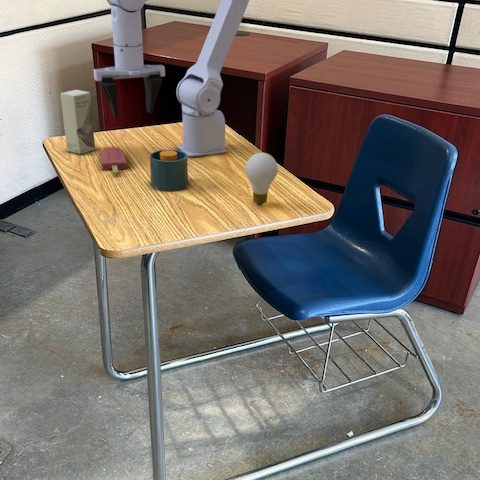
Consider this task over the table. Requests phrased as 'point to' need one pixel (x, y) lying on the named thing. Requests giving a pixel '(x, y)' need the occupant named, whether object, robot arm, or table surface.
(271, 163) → the light bulb
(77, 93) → the box
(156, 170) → the tumbler
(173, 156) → the glue stick
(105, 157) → the popsicle
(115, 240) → the table surface
